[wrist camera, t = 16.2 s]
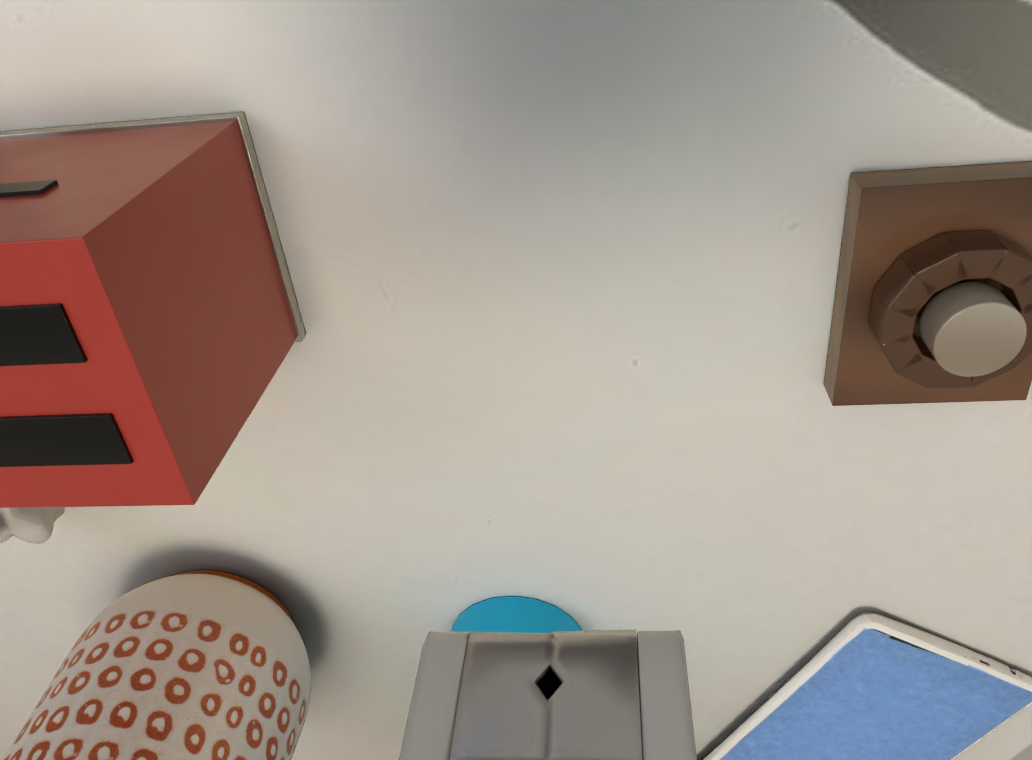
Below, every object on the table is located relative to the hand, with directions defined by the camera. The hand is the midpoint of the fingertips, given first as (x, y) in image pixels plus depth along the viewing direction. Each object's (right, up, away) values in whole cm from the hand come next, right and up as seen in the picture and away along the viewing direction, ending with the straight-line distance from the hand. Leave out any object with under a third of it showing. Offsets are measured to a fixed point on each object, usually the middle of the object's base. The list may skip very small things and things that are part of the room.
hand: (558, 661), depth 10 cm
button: (+17, +6, +22) cm, 28 cm away
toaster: (-18, +10, +27) cm, 33 cm away
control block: (+17, +7, +24) cm, 31 cm away
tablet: (+20, -18, +41) cm, 49 cm away
